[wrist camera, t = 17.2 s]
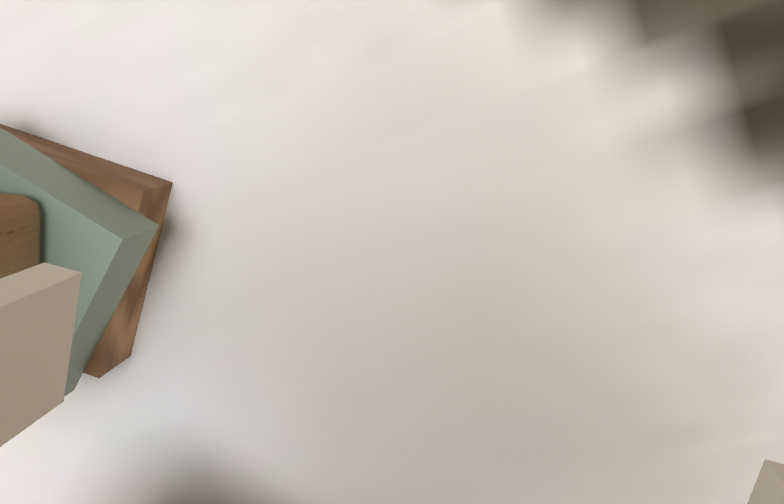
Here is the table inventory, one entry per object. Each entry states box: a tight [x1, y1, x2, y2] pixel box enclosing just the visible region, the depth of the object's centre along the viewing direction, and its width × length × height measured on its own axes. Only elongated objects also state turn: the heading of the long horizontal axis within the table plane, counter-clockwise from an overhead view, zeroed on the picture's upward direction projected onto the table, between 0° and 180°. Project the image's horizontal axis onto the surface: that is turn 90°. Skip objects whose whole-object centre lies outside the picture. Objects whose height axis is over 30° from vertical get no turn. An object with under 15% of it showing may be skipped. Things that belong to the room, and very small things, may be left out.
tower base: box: [0, 124, 172, 378], centre depth 51 cm, size 14×14×5 cm
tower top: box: [0, 127, 159, 396], centre depth 46 cm, size 14×14×5 cm
